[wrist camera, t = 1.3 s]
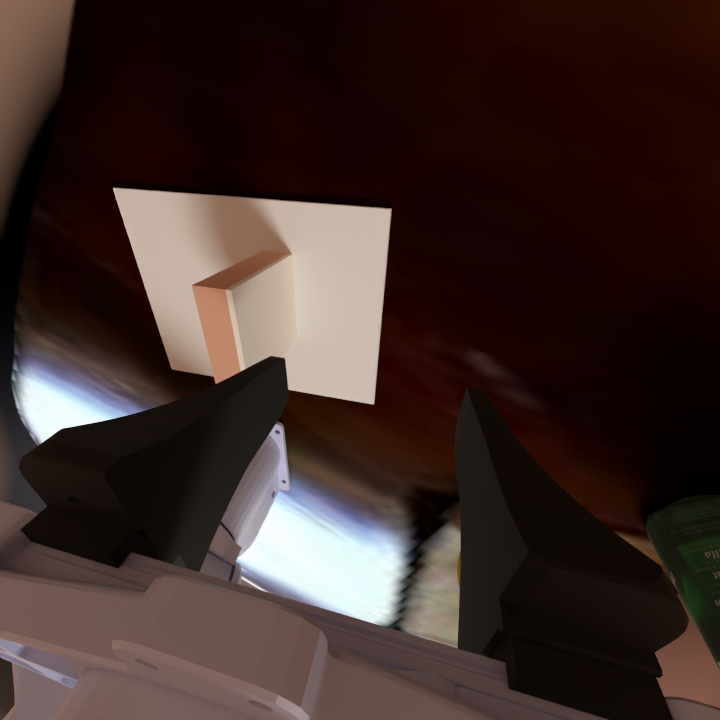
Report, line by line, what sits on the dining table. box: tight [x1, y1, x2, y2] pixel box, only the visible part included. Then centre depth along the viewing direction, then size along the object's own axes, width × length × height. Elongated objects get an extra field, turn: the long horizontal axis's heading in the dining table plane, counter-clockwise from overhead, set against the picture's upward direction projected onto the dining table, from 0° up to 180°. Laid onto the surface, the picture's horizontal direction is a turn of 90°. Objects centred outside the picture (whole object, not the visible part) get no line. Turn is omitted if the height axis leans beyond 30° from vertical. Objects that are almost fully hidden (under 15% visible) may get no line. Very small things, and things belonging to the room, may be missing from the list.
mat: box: [113, 188, 392, 404], centre depth 23 cm, size 14×18×1 cm
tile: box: [192, 251, 298, 384], centre depth 19 cm, size 6×2×7 cm, turn 177°
